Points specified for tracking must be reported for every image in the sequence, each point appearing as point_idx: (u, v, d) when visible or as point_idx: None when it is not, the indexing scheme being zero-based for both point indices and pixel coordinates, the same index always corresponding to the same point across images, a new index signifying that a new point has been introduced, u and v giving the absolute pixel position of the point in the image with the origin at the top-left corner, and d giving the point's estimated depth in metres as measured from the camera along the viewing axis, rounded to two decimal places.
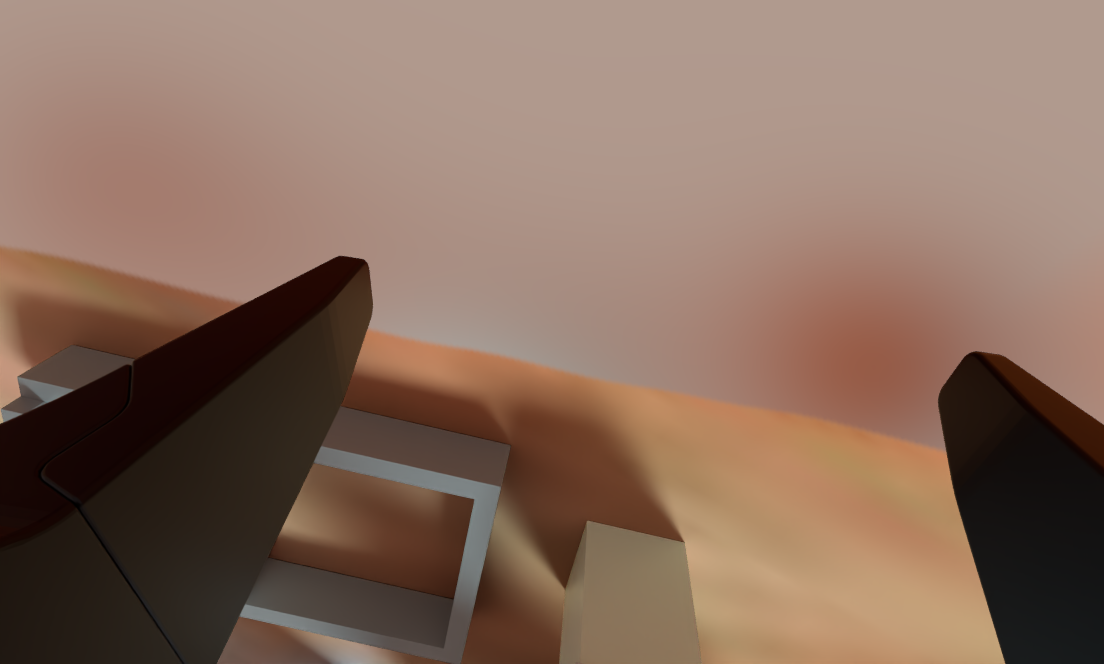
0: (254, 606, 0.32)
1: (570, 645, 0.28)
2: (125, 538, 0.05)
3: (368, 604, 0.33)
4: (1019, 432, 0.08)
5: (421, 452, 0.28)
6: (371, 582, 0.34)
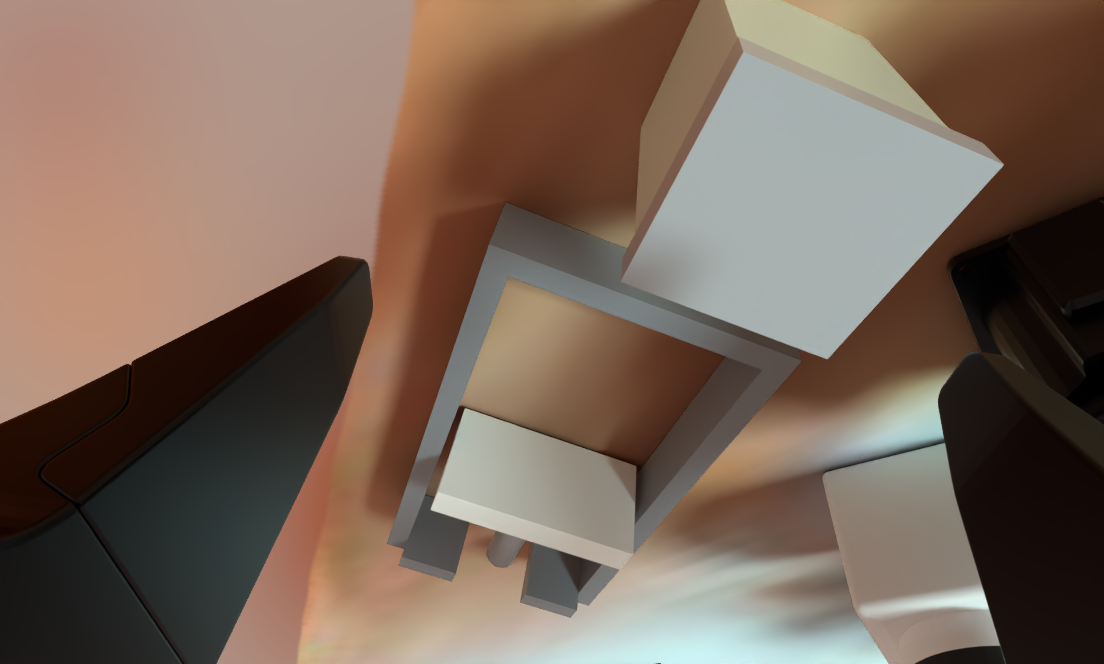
0: (649, 507, 0.30)
1: None
2: (126, 540, 0.05)
3: (702, 413, 0.27)
4: (1019, 432, 0.08)
5: None
6: (697, 395, 0.29)
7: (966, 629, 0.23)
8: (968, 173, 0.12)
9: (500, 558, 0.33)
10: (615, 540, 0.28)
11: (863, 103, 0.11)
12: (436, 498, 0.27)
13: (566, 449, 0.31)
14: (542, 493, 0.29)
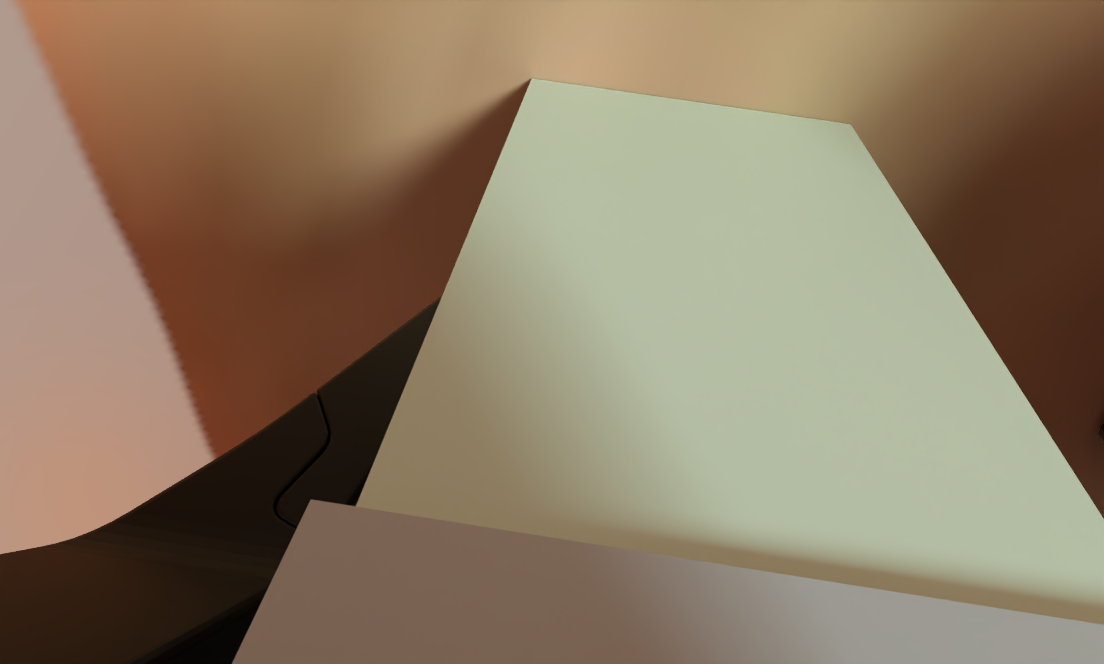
0: None
1: None
2: None
3: None
4: None
5: None
6: None
7: None
8: None
9: None
10: None
11: None
12: None
13: None
14: None
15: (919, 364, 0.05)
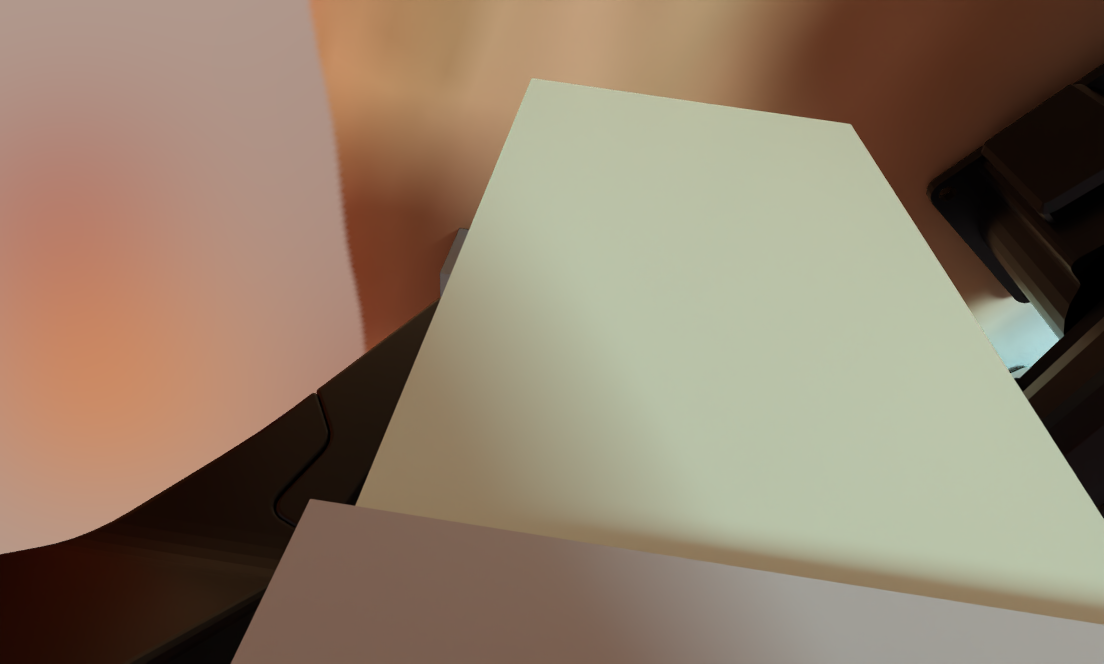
0: None
1: None
2: None
3: None
4: None
5: None
6: None
7: None
8: None
9: None
10: None
11: None
12: None
13: None
14: None
15: (919, 364, 0.05)
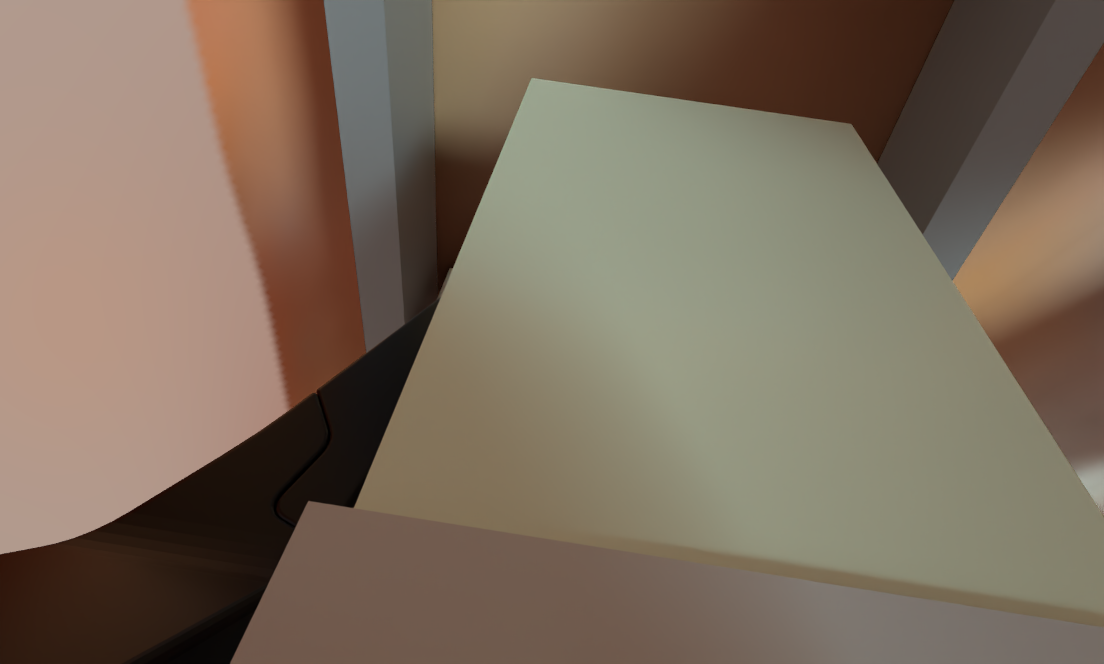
0: None
1: None
2: None
3: (938, 114, 0.12)
4: None
5: None
6: (906, 105, 0.13)
7: None
8: None
9: None
10: None
11: None
12: None
13: None
14: None
15: (921, 365, 0.05)
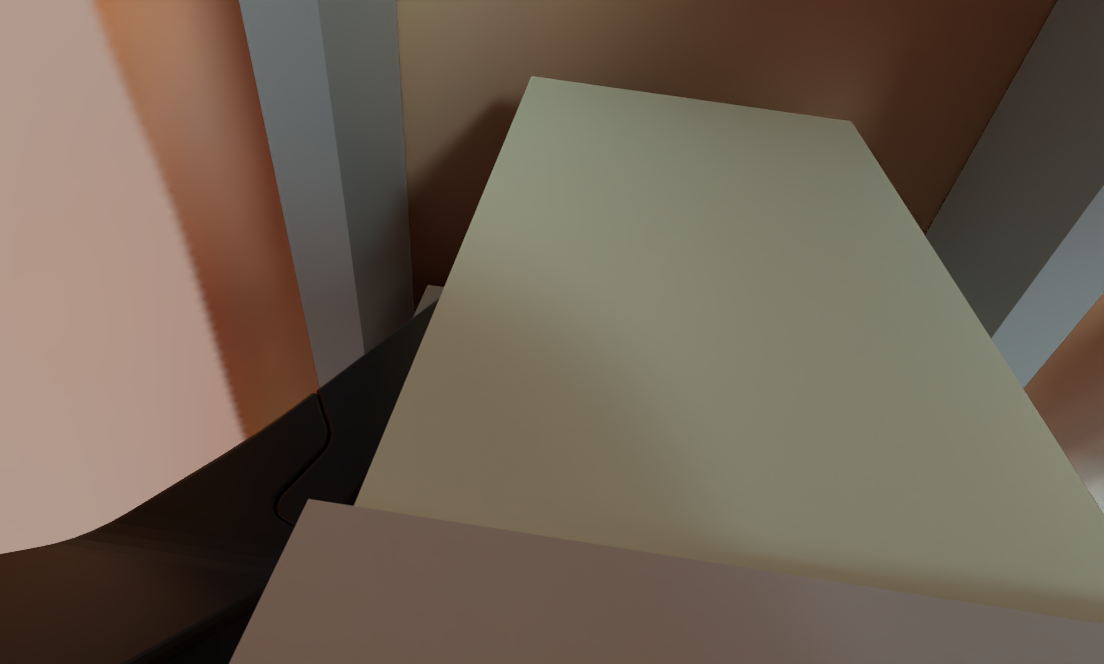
0: (1009, 317, 0.09)
1: None
2: None
3: None
4: None
5: None
6: None
7: None
8: None
9: None
10: None
11: None
12: None
13: None
14: None
15: (920, 362, 0.05)
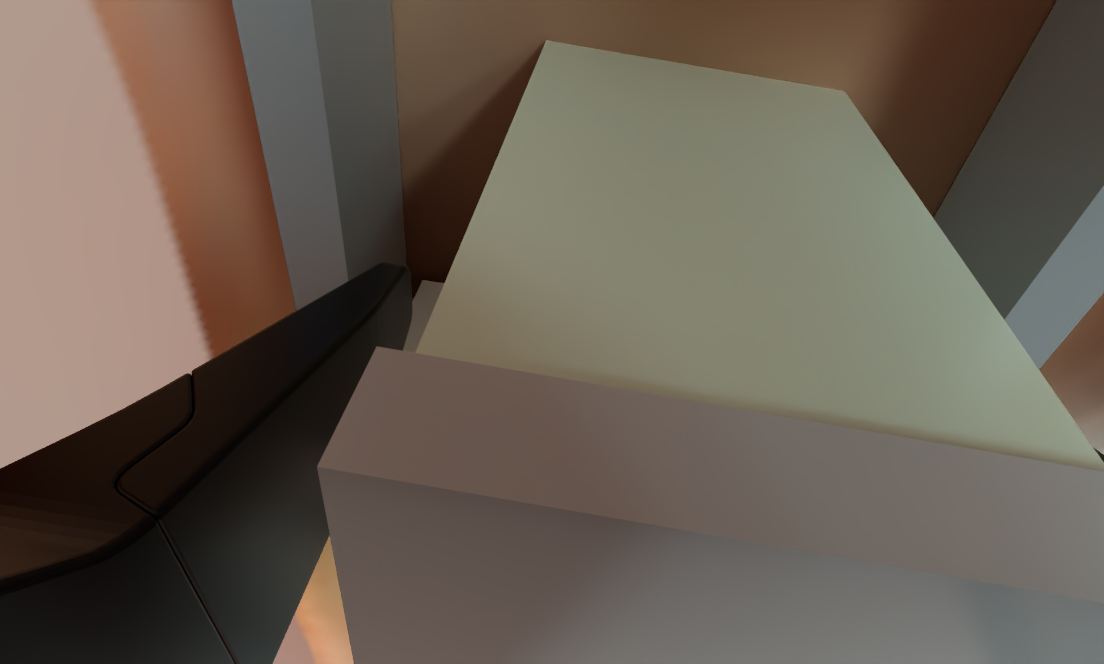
0: (1095, 200, 0.08)
1: None
2: (195, 550, 0.05)
3: None
4: None
5: None
6: None
7: None
8: None
9: None
10: None
11: (756, 535, 0.03)
12: None
13: None
14: None
15: (902, 280, 0.06)
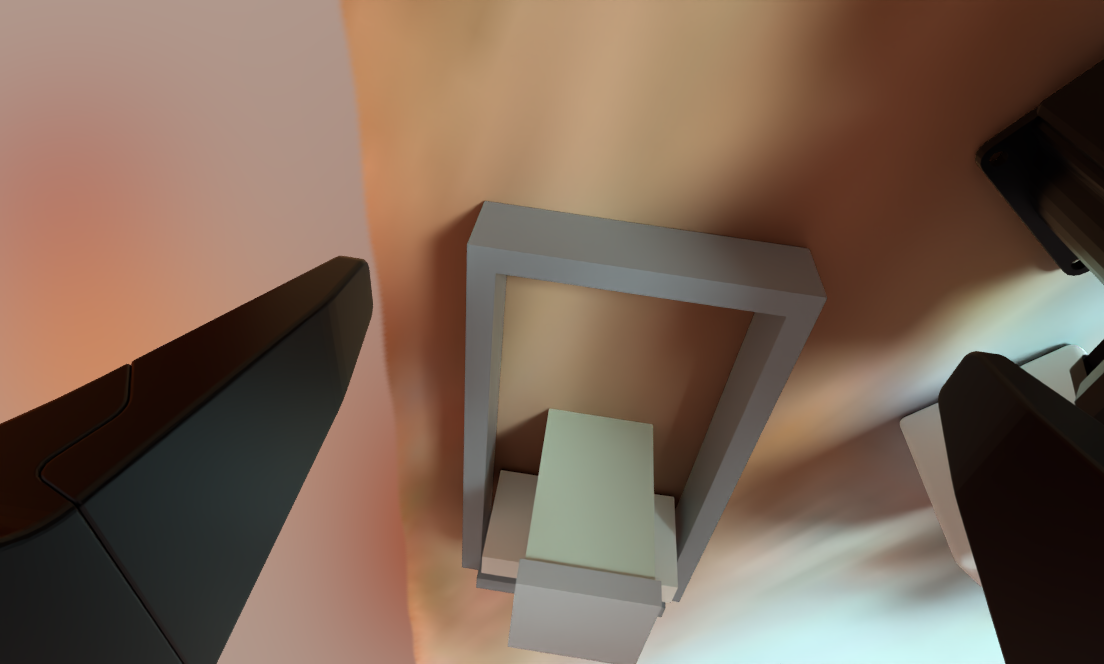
0: (711, 487, 0.28)
1: None
2: (125, 541, 0.05)
3: (742, 377, 0.25)
4: (1019, 432, 0.08)
5: None
6: (736, 360, 0.27)
7: None
8: (647, 609, 0.23)
9: None
10: (658, 576, 0.29)
11: (581, 592, 0.23)
12: (483, 562, 0.30)
13: None
14: None
15: (634, 525, 0.26)
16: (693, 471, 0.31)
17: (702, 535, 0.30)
